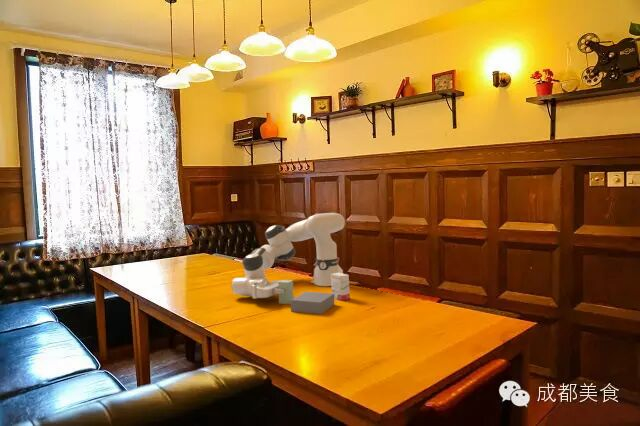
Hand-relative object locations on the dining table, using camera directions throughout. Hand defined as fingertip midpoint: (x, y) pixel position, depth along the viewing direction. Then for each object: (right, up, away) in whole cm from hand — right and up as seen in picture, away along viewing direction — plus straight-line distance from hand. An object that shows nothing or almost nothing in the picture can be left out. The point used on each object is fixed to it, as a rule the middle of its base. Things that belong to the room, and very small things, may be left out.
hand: (287, 289), depth 207 cm
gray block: (+12, -6, -10) cm, 17 cm away
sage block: (-1, -6, +1) cm, 6 cm away
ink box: (+25, -5, +5) cm, 26 cm away
